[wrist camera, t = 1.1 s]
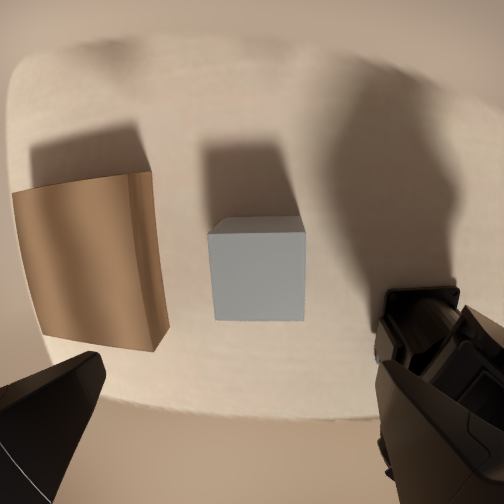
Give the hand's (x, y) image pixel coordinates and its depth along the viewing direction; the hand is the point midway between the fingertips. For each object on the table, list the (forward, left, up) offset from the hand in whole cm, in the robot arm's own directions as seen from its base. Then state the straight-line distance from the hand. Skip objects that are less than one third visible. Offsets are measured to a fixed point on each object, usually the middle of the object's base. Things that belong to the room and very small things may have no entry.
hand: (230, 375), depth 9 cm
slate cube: (0, 0, -13) cm, 13 cm away
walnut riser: (+13, 0, -13) cm, 19 cm away
